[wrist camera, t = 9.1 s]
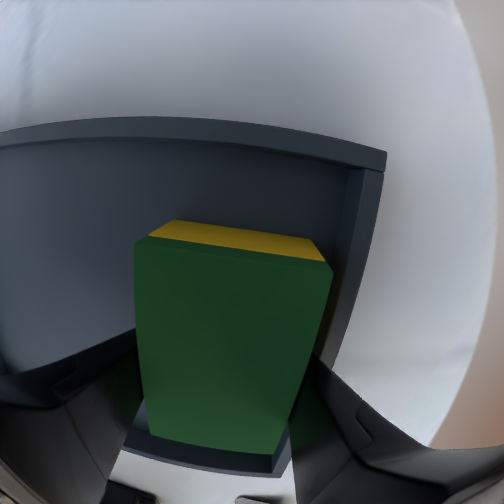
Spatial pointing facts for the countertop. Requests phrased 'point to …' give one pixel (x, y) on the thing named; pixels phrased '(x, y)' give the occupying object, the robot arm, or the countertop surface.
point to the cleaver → (247, 501)
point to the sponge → (225, 331)
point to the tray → (155, 216)
